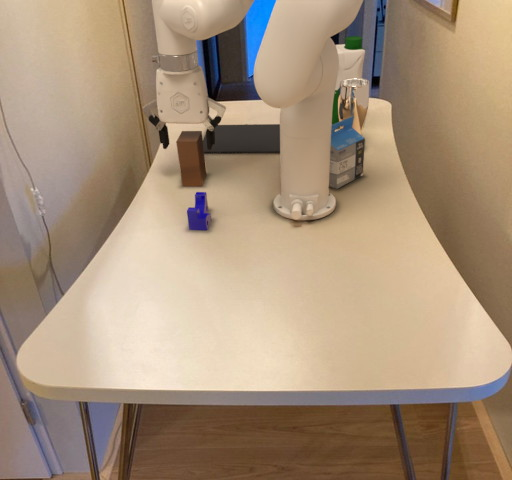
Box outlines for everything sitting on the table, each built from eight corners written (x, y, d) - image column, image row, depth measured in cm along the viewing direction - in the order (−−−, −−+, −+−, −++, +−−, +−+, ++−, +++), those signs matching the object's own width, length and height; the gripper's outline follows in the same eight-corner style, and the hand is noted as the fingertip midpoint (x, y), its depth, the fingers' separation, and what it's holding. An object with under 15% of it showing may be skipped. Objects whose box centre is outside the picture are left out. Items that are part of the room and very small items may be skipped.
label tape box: (336, 189, 116) (339, 131, 108) (322, 184, 119) (324, 127, 111) (363, 176, 121) (368, 119, 113) (349, 171, 123) (352, 115, 115)
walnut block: (202, 186, 121) (196, 141, 114) (182, 186, 121) (176, 141, 115) (206, 174, 125) (201, 130, 119) (187, 174, 126) (181, 130, 119)
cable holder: (207, 230, 106) (204, 211, 103) (189, 229, 107) (186, 211, 104) (215, 210, 112) (213, 192, 109) (198, 210, 112) (196, 191, 110)
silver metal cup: (333, 152, 131) (337, 86, 121) (337, 141, 136) (340, 77, 126) (363, 154, 130) (368, 87, 120) (365, 142, 135) (371, 77, 125)
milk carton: (362, 126, 143) (369, 41, 130) (328, 130, 142) (332, 45, 129) (351, 115, 150) (357, 33, 136) (319, 118, 149) (322, 36, 136)
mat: (287, 153, 132) (287, 151, 132) (198, 153, 135) (197, 151, 134) (291, 125, 146) (291, 124, 145) (210, 126, 148) (209, 125, 148)
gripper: (130, 66, 105) (144, 153, 117) (219, 66, 104) (225, 154, 115) (140, 55, 111) (153, 139, 122) (225, 55, 109) (230, 140, 121)
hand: (188, 146), depth 119 cm, fingers open, 9 cm apart
